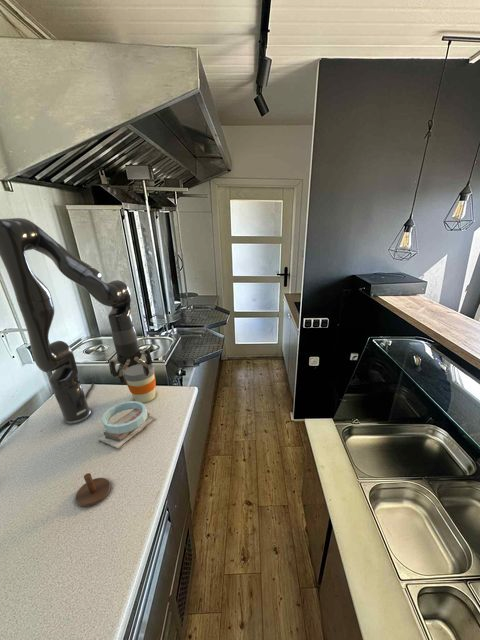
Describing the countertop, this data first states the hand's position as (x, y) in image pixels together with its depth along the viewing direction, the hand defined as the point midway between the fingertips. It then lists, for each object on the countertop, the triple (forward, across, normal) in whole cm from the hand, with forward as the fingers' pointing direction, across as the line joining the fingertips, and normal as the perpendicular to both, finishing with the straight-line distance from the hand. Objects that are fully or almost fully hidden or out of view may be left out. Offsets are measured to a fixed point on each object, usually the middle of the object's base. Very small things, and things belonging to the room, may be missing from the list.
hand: (135, 379), depth 107 cm
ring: (+15, +7, 0) cm, 17 cm away
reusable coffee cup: (+20, -7, -17) cm, 27 cm away
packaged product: (+20, +7, 0) cm, 21 cm away
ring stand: (+20, +25, +21) cm, 38 cm away
